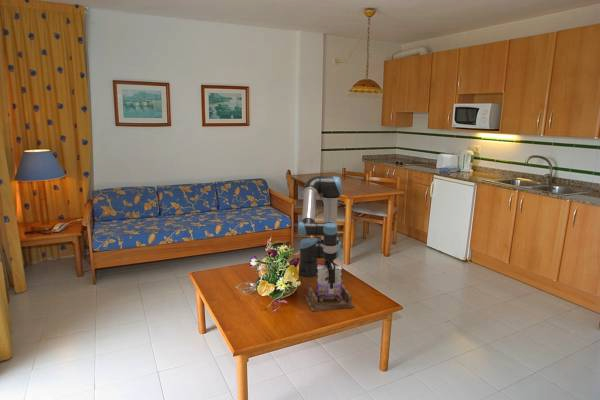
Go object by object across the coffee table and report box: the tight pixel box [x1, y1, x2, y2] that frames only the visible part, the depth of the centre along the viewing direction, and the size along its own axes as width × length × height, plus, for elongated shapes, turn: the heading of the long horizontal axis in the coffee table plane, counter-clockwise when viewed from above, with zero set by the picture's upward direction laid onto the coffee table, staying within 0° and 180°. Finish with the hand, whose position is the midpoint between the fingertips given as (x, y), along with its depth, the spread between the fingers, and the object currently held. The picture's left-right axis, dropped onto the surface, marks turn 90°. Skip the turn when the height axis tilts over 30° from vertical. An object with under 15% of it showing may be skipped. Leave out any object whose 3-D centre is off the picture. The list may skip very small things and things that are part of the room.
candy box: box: [316, 264, 343, 296], centre depth 222 cm, size 14×6×16 cm, turn 85°
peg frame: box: [304, 282, 355, 312], centre depth 224 cm, size 18×24×7 cm
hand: (329, 290), depth 224 cm, fingers closed on candy box, 7 cm apart
